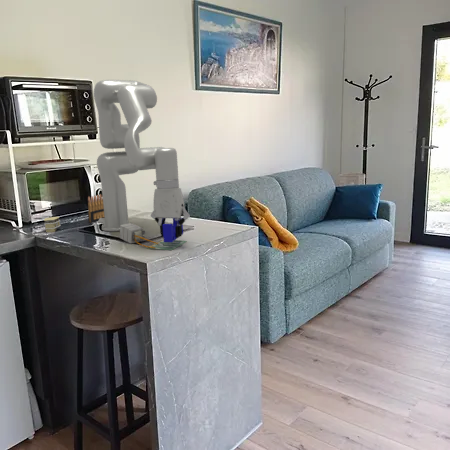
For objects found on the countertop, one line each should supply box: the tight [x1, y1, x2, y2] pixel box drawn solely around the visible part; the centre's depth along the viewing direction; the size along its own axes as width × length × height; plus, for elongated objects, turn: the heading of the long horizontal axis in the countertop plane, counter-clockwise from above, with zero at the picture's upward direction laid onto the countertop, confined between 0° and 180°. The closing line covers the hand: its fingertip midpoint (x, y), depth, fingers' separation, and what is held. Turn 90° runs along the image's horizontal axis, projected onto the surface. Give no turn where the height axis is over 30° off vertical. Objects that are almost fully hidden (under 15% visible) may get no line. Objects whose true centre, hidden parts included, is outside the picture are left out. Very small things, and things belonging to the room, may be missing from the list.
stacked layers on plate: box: [43, 216, 61, 233], centre depth 192 cm, size 10×9×6 cm
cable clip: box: [162, 218, 184, 242], centre depth 159 cm, size 12×4×6 cm, turn 167°
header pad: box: [146, 239, 188, 251], centre depth 161 cm, size 10×12×1 cm
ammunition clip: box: [87, 193, 105, 224], centre depth 209 cm, size 11×2×12 cm, turn 150°
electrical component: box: [119, 222, 164, 250], centre depth 163 cm, size 24×6×5 cm, turn 48°
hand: (171, 235), depth 159 cm, fingers closed on cable clip, 5 cm apart
